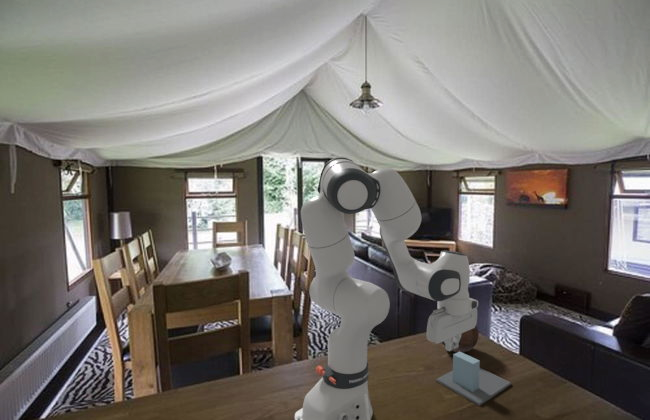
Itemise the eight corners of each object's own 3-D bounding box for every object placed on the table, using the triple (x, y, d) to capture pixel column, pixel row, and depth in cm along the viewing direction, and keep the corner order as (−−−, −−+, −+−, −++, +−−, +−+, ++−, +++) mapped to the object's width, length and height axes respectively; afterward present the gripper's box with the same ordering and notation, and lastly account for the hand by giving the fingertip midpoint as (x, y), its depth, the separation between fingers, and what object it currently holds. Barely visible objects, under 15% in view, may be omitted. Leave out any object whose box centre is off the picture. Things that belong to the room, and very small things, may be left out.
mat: (479, 405, 97) (479, 403, 97) (436, 381, 109) (436, 378, 109) (510, 384, 107) (510, 382, 107) (468, 364, 119) (468, 362, 119)
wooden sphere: (457, 338, 140) (457, 303, 139) (487, 355, 126) (488, 316, 125) (428, 345, 134) (429, 309, 133) (456, 363, 120) (457, 323, 119)
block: (472, 392, 102) (473, 364, 101) (452, 381, 108) (453, 354, 107) (478, 388, 104) (479, 360, 103) (458, 377, 110) (459, 351, 109)
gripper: (440, 315, 91) (439, 363, 92) (481, 300, 102) (480, 343, 103) (421, 308, 96) (420, 354, 97) (463, 294, 108) (462, 336, 109)
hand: (451, 348), depth 100 cm, fingers closed
